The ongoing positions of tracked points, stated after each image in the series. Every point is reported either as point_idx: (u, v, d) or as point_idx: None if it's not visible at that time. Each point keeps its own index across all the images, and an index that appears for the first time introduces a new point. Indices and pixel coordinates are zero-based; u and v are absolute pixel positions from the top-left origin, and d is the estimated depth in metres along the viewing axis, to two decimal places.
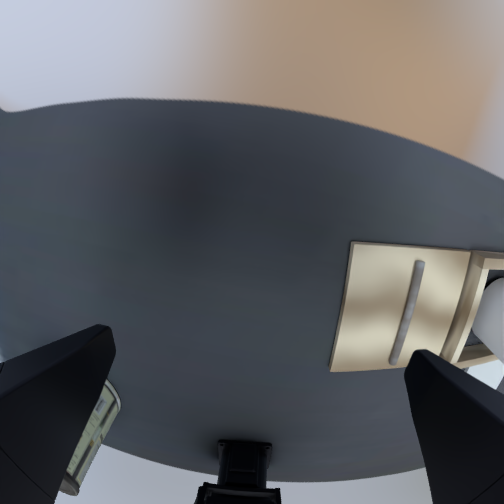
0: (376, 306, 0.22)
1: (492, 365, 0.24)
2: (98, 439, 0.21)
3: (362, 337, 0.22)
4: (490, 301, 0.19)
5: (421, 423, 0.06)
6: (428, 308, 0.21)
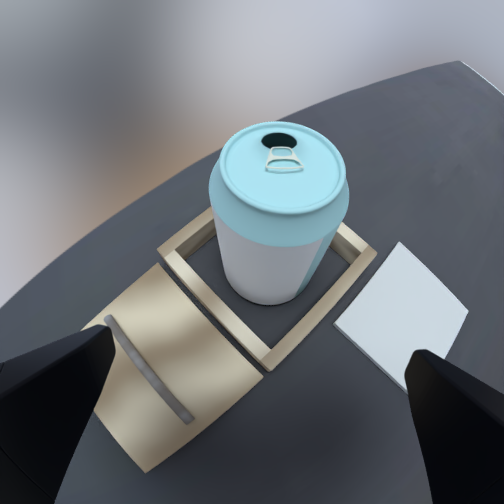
0: (111, 384, 0.18)
1: (386, 289, 0.21)
2: None
3: (130, 420, 0.17)
4: (224, 264, 0.21)
5: (421, 423, 0.06)
6: (164, 343, 0.19)
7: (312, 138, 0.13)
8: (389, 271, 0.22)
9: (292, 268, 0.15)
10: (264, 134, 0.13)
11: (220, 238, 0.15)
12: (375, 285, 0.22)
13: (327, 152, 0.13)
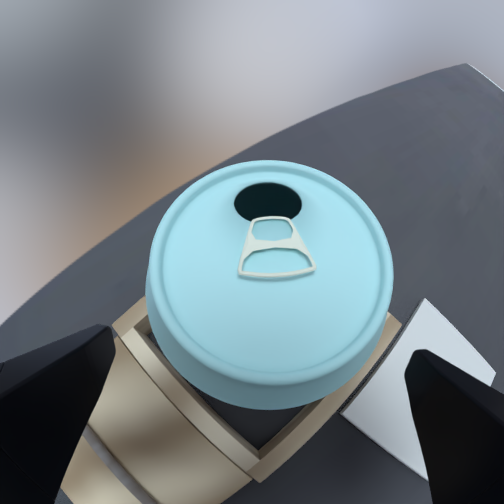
0: (79, 470, 0.11)
1: (407, 364, 0.15)
2: None
3: None
4: None
5: (421, 423, 0.06)
6: (131, 436, 0.13)
7: (330, 192, 0.07)
8: (412, 340, 0.16)
9: None
10: (240, 187, 0.07)
11: None
12: (395, 360, 0.16)
13: (358, 224, 0.07)
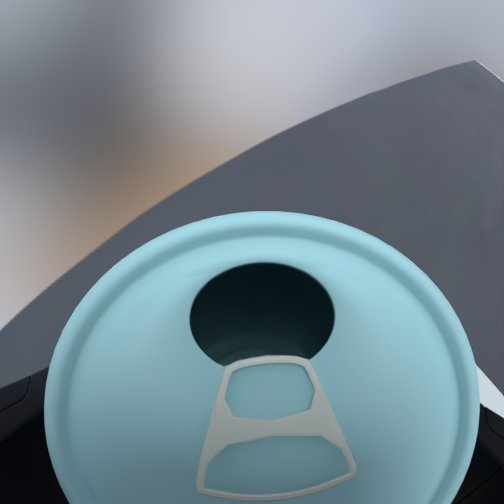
0: None
1: None
2: None
3: None
4: None
5: None
6: None
7: (389, 282, 0.04)
8: None
9: None
10: (204, 278, 0.04)
11: None
12: None
13: (436, 351, 0.03)
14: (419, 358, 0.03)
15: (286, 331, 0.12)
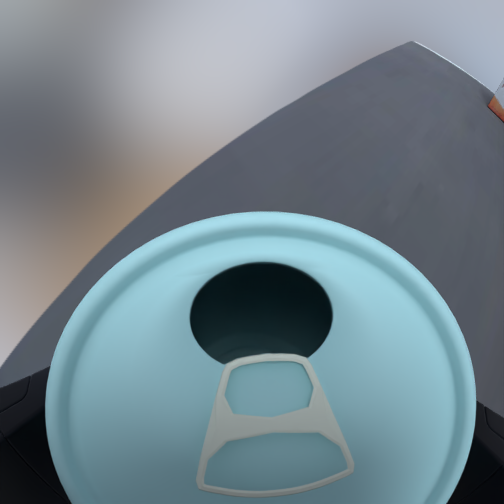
0: None
1: None
2: None
3: None
4: None
5: None
6: None
7: (387, 282, 0.04)
8: None
9: None
10: (204, 277, 0.04)
11: None
12: None
13: (433, 350, 0.03)
14: (416, 357, 0.03)
15: (284, 330, 0.12)
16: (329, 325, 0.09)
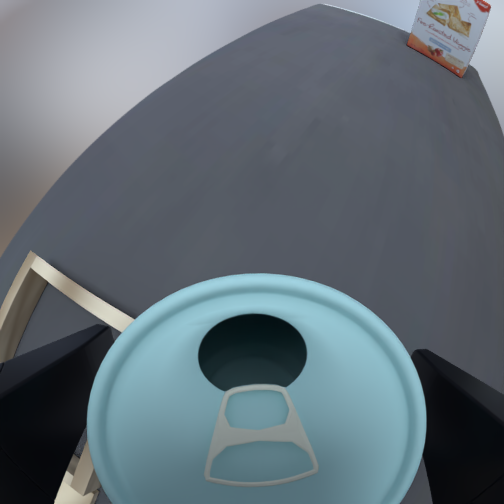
0: None
1: None
2: None
3: None
4: None
5: None
6: None
7: (353, 327, 0.05)
8: None
9: None
10: (208, 326, 0.05)
11: None
12: None
13: (389, 382, 0.04)
14: (374, 387, 0.04)
15: (282, 342, 0.13)
16: None
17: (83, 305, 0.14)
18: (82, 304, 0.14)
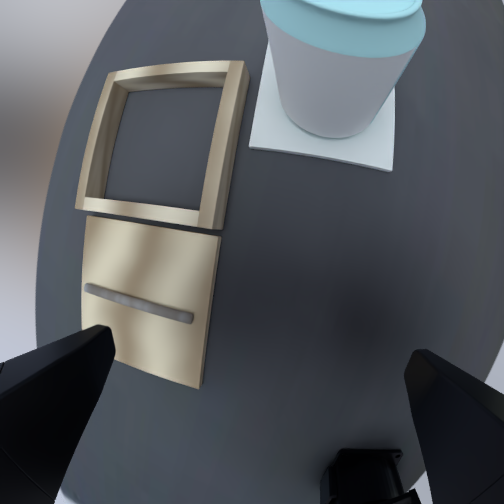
0: (125, 334, 0.21)
1: None
2: None
3: (156, 351, 0.21)
4: (286, 103, 0.16)
5: (421, 423, 0.06)
6: (131, 270, 0.21)
7: None
8: None
9: (382, 85, 0.10)
10: None
11: (290, 67, 0.11)
12: (268, 88, 0.18)
13: None
14: None
15: None
16: None
17: (177, 72, 0.17)
18: (176, 72, 0.17)
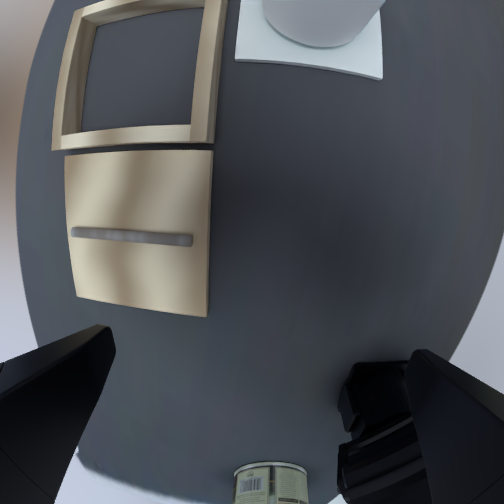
0: (121, 272, 0.20)
1: None
2: (279, 503, 0.22)
3: (156, 284, 0.20)
4: (274, 14, 0.12)
5: (421, 423, 0.06)
6: (120, 201, 0.19)
7: None
8: None
9: None
10: None
11: None
12: (249, 4, 0.14)
13: None
14: None
15: None
16: None
17: None
18: None
